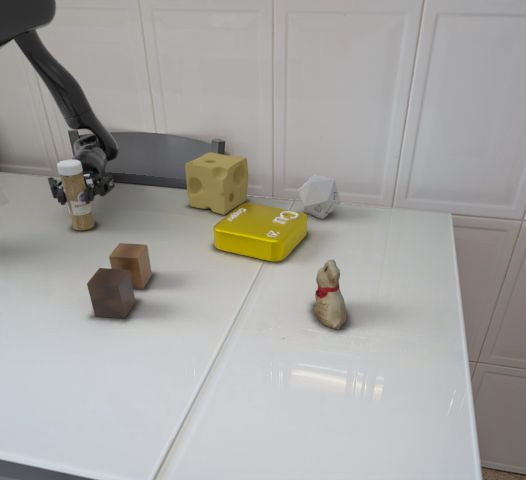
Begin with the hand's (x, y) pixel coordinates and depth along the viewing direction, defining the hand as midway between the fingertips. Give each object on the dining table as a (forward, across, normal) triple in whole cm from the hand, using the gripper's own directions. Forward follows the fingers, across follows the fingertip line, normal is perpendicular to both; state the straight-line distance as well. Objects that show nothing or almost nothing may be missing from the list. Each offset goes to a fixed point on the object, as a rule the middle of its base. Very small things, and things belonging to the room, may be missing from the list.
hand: (74, 199), depth 99 cm
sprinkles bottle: (-3, 0, +7) cm, 8 cm away
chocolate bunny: (+36, +44, +7) cm, 57 cm away
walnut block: (+30, +10, +7) cm, 33 cm away
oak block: (+22, +12, +7) cm, 26 cm away
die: (-3, +51, +7) cm, 51 cm away
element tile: (+9, +36, +7) cm, 38 cm away
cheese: (-12, +29, +7) cm, 32 cm away
